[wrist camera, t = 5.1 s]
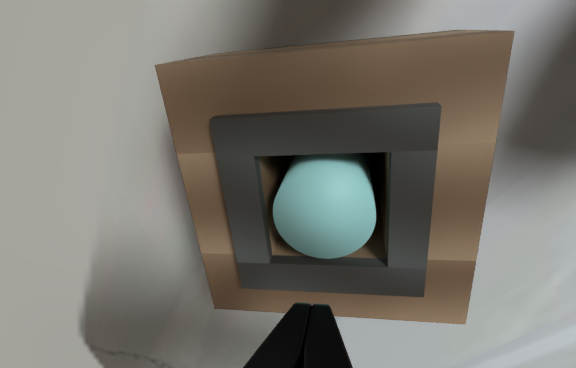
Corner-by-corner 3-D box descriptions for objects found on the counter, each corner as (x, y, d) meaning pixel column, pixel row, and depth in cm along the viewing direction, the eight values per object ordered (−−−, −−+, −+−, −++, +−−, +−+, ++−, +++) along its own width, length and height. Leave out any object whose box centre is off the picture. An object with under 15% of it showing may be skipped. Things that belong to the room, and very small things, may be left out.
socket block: (435, 246, 20) (469, 335, 14) (247, 241, 23) (210, 317, 17) (457, 30, 15) (523, 30, 9) (214, 53, 18) (145, 66, 12)
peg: (369, 195, 18) (375, 260, 13) (298, 195, 19) (278, 257, 14) (369, 124, 17) (376, 167, 12) (292, 128, 18) (266, 170, 12)
